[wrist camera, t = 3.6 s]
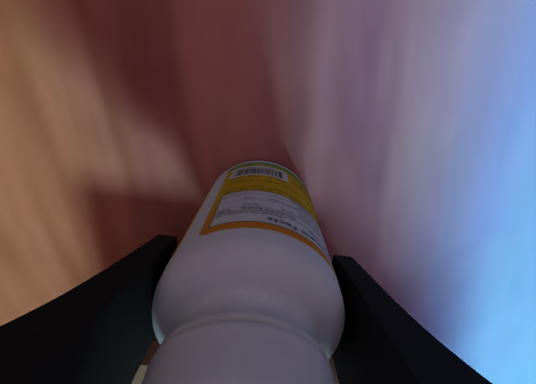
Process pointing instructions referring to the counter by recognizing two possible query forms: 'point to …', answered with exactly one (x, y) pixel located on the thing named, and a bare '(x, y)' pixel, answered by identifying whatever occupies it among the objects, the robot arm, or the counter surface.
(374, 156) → the counter surface
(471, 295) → the counter surface
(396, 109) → the counter surface
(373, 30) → the counter surface
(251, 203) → the supplement bottle
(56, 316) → the robot arm
